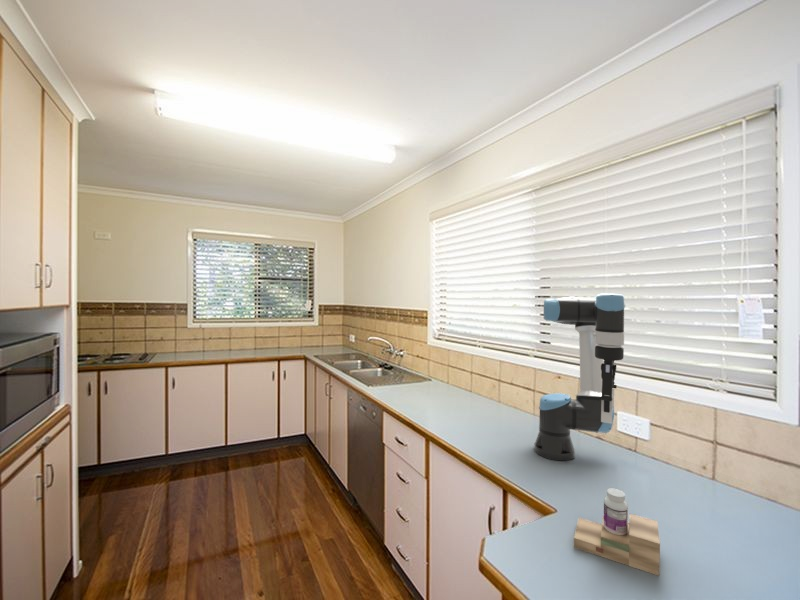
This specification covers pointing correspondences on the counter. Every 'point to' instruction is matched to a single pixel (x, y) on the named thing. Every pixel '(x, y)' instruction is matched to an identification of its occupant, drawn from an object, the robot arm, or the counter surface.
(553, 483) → the counter surface
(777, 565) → the counter surface
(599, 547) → the stepped stand
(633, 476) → the counter surface
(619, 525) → the pill bottle
